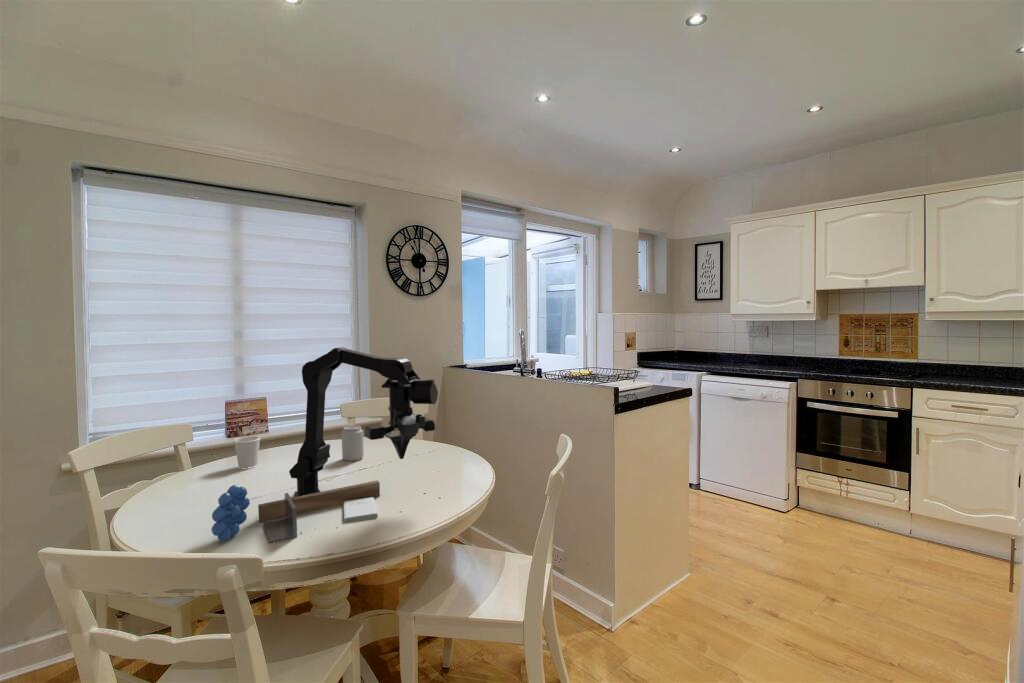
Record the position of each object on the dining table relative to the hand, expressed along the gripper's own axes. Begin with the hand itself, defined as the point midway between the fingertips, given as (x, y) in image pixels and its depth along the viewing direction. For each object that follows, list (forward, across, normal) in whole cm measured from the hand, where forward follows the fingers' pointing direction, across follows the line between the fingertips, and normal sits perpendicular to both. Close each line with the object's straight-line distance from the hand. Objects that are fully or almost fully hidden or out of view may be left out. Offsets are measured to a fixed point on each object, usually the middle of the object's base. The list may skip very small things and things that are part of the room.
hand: (401, 458), depth 132 cm
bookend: (+12, -32, -1) cm, 34 cm away
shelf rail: (+12, -20, +9) cm, 24 cm away
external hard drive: (+13, -12, 0) cm, 17 cm away
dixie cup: (+12, -33, +63) cm, 72 cm away
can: (+12, 0, +50) cm, 51 cm away
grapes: (+12, -42, +3) cm, 44 cm away
